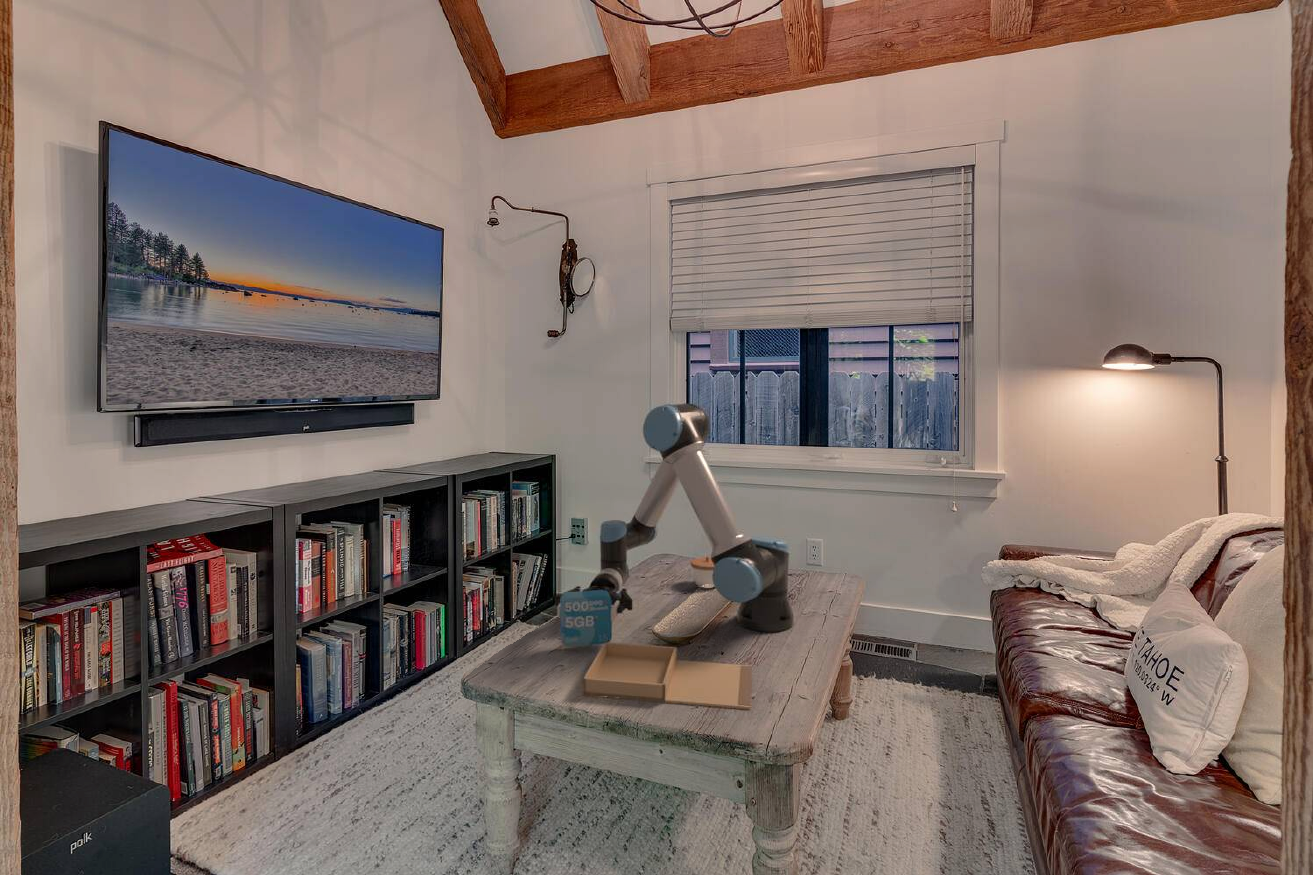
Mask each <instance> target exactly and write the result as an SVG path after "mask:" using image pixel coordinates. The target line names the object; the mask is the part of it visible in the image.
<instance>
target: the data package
mask: <svg viewBox="0 0 1313 875" xmlns="http://www.w3.org/2000/svg"><path fill="white" fill-rule="evenodd" d="M565 592H566V593H564V592H563V593H564V594H562V593H561V594H562V596H561V598H560V608H561V618H560V637H561V638H560V639H561V642H562V645H563V646H564V647H568V648H569V647H570V648H571V647H579V646H580V647H581V646H594V645H603V644H604V643H605V642H610V643H611V642H612V636H613V626H612V625H613V622H612V621H611V609H612V607H613V605H612V601H611V598H610V595H609V593H608V592H607V591H606V590H594V591H579V592H567V591H565Z"/></svg>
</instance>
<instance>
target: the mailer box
mask: <svg viewBox="0 0 1313 875" xmlns="http://www.w3.org/2000/svg"><path fill="white" fill-rule="evenodd" d="M582 680H583V681H582V689H583V691H582V692H583V693H582V694H583V696H584V695H587V696H586V697H596V696H607V697H606V698H608V697H619V698H625V699H624V700H631V699H636V700H635V701H643V700H646V701H647V702H655V701H659V702H658V703H667V702H668V704H679V703H682V704H681V705H691V706H693V705H694V706H704V707H705V706H706V707H715V708H728V709H738V710H751V692H752V665H750V664H749V665H748V664H746V665H745V664H733V663H732V664H731V663H719V662H708V661H707V662H706V661H695V660H680V659H678V647H677V646H663V645H652V644H651V645H647V644H636V643H621V642H620V643H619V642H611V641H610V642H605V643H604V644H602V647H601V648H600V649H599V651H598V653H597V654H596V657H595V658H594V660H593V662H592V663H591V665H590V667H589V668H588V670H587V671H586V673H585V675H584V677H583V679H582ZM619 698H618V699H619Z"/></svg>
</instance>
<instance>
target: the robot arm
mask: <svg viewBox="0 0 1313 875" xmlns="http://www.w3.org/2000/svg"><path fill="white" fill-rule="evenodd" d="M710 427H711V423H710V418H709V416H708V414H707V412H706V411H705V410H704V409H703V408H702V407H700V406H699V405H697V404H695V403H687V402H686V403H682V404H681V403H678V404H677V403H676V404H669V403H668V404H663V405H659V406H656V407H654V408H653V409H651V410H650V411H649V412H648V413H647V415H646V417H645V419H644V423H643V426H642V434H643V435H642V436H643V438H644V441H645V443H646V444H647V446H648V447H649V448H650V449H653V450H655V451H656V452H659V454H660V456H661V458H662V459H661V462H660V464H659V466H658V468H657V470H656V472H655V473H654V475H653V477H652V478H651V479H652V480H651V482H650V483H649V485H648V487H647V488H646V492H645V493H644V495H643V497H642V499H641V501H640V503H639V505H638V507H637V509H636V511H635V512H634V515H633V517H632V518H631V520H630V522H627V523H626V522H625V521H623V520H620V519H618V520H617V519H611V520H605V521H603V522H602V523H601V525H600V534H599V542H600V543H599V545H600V548H599V549H600V571H599V573H598V574H597V575H596V576H595V577H594V578H593V580H592V581H591V582H590V585H589V586H588V587H587V588H584V589H582V588H581V586H579V585H577V586H575V587H574V588H572V589H570V590H568V591H567V590H566V591H565V592H562V593H560V594H557V595H555V599H554V601H555V602H554V603H555V607H556V611H557V614H556V615H557V618H558V619H559V618H560V619H561V608H560V598H561V596H562V594H564V593H566V592H579V591H594V590H606V591H607V592H608V593H609V595H610V598H611V601H612V609H611V621H615V620H616V618H617V617H618V615H619V614H622V613H623V612H624V611H625V610H626V609H627V611H632V610H633V599H632V597H631V596H630V595H629V594H628V592H627V588H623V586H624V585H625V584H626V582H627V581H628V579H629V576H630V567H629V565H628V563H627V562H628V557H627V556H628V552H627V551H629V550H633V549H635V548H638V547H641V546H644V545H647V544H649V543H651V542H652V541H654V540H655V539H656V538H657V536H658V523H659V522H660V519H662V516H663V514H664V513H665V510H666V509H667V507H668V505H669V503H670V502H671V500H672V498H673V496H674V494H675V492H676V490H677V488H678V487H679V485H680V484H681V486H682V488H683V490H684V492H685V494H686V496H687V499H688V500H689V503H690V505H691V507H692V509H693V510H694V513H695V515H696V517H697V519H698V521H699V523H700V525H701V527H702V529H703V531H704V534H705V535H706V538H707V540H708V542H709V544H710V546H711V549H712V550H711V554H710V556H709V557H710V558H711V560H712V562H713V564H714V569H713V574H712V579H713V583H714V586H715V589H716V591H717V592H718V593H719V595H721V597H723V598H725V599H726V600H728V601H730V602H733V603H739V606H738V609H737V612H736V613H737V614H736V622H737V623H738V624H739V625H741V626H742V627H744V628H746V629H749V630H753V631H757V632H767V633H768V632H773V633H774V632H782V631H786V630H788V629H790V628H792V627H793V626H794V620H795V616H794V611H793V608H792V605H791V602H790V598H789V595H788V593H789V592H788V590H789V564H790V563H789V562H790V558H789V557H790V551H789V549H790V548H789V546H790V545H789V543H788V542H787V541H786V540H784V539H781V538H778V537H771V536H760V535H759V536H758V535H754V536H751V535H750V536H748V535H745V534H744V533H743V532H742V530H741V527H740V526H739V524H738V521H737V520H736V518H735V515H734V513H733V511H732V509H731V508H730V506H729V504H728V503H729V502H728V501H727V500H726V498H725V496H724V493H723V491H722V489H721V487H720V485H719V483H718V481H717V479H716V477H715V475H714V473H713V471H712V469H711V466H710V465H709V463H708V461H707V459H706V457H705V455H704V453H703V448H704V447H705V444H706V442H707V440H708V437H709V434H710V430H711V428H710Z"/></svg>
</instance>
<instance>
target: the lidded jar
mask: <svg viewBox="0 0 1313 875" xmlns="http://www.w3.org/2000/svg"><path fill="white" fill-rule="evenodd" d="M713 569H714V564H713V562H712V560H711V558H710V556H705V557H696V558H693V559H692V560H690V574H691V578H692V580H693V582H694V583H695V584H696V585H697V588H700V586H703V585H705V584H714V583H713V579H712V574H713Z"/></svg>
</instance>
